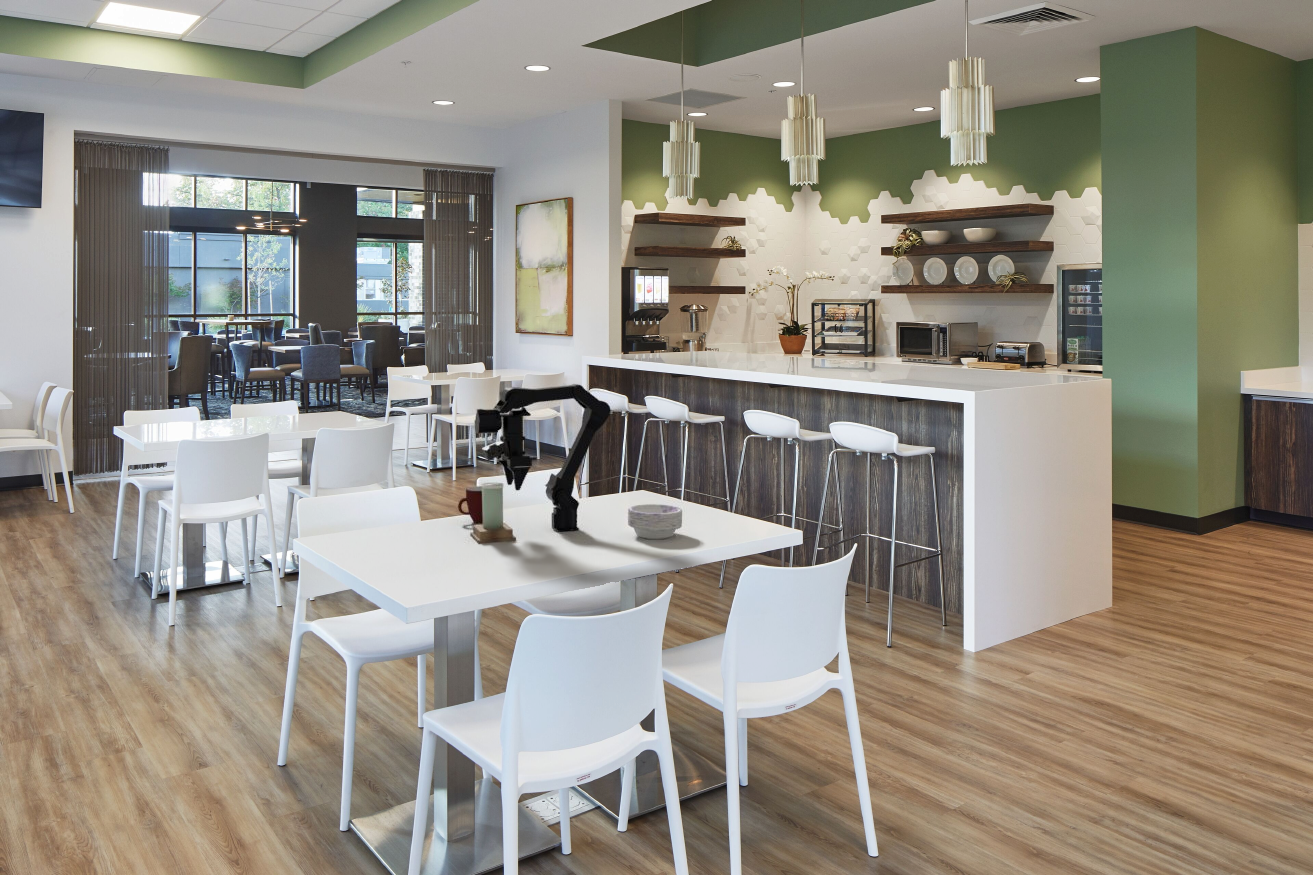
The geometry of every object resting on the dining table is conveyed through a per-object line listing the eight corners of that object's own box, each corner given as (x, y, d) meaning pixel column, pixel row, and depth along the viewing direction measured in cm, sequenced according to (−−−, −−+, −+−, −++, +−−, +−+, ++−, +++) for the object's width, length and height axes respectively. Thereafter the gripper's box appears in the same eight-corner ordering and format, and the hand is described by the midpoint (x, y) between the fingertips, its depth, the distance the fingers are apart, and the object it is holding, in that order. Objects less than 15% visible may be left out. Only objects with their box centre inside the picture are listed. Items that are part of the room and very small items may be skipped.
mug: (465, 526, 289) (464, 492, 288) (454, 521, 295) (453, 488, 294) (498, 522, 295) (498, 489, 293) (487, 517, 301) (486, 485, 300)
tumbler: (505, 524, 278) (504, 482, 276) (502, 529, 272) (502, 486, 270) (483, 524, 277) (482, 482, 276) (480, 529, 271) (479, 486, 270)
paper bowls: (690, 533, 283) (690, 505, 282) (668, 544, 269) (668, 515, 268) (642, 528, 289) (642, 501, 288) (618, 538, 275) (618, 510, 274)
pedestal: (506, 532, 282) (506, 522, 281) (515, 540, 272) (515, 529, 272) (470, 535, 278) (470, 524, 277) (478, 543, 268) (478, 532, 268)
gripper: (477, 429, 283) (478, 483, 285) (491, 437, 266) (492, 495, 268) (515, 428, 287) (516, 481, 289) (532, 435, 270) (532, 492, 272)
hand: (513, 487), depth 279 cm, fingers open, 9 cm apart
